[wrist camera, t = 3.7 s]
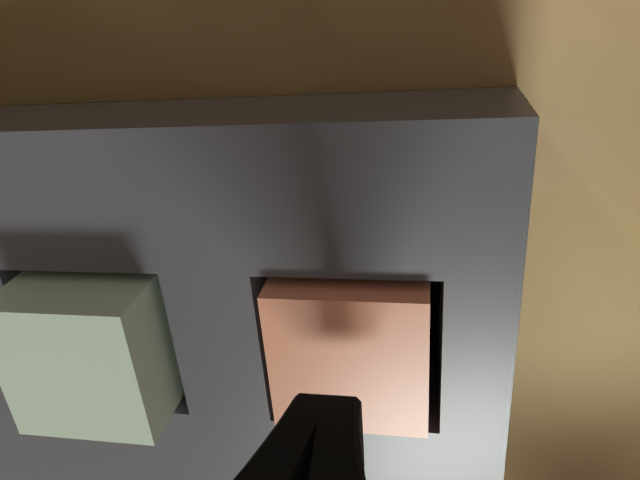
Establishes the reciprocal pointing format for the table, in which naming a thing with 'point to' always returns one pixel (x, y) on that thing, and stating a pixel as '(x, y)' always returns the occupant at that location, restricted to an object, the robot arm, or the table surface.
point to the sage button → (88, 356)
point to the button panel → (280, 252)
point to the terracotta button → (351, 347)
